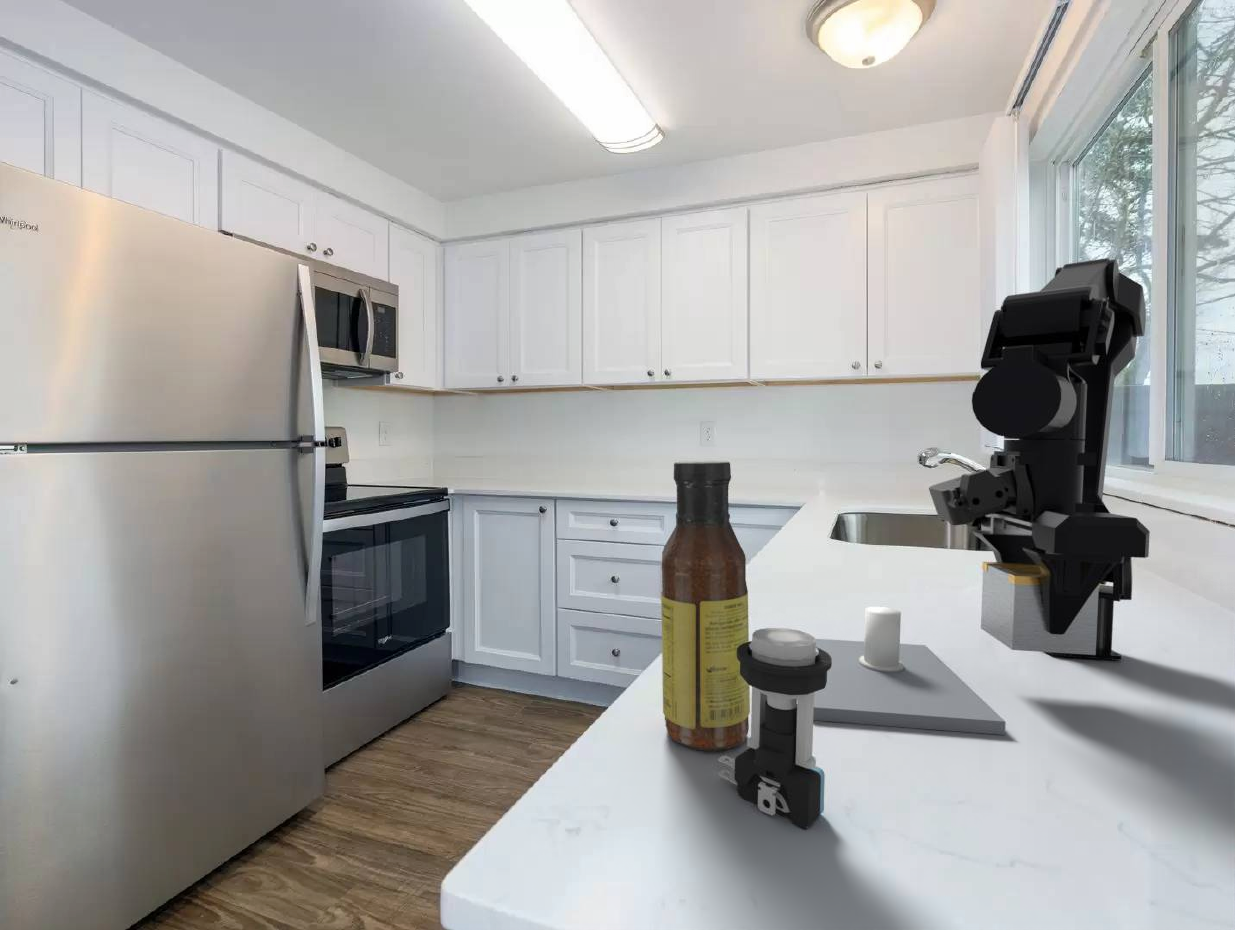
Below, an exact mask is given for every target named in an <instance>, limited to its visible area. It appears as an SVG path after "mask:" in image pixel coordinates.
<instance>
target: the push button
mask: <svg viewBox="0 0 1235 930" xmlns="http://www.w3.org/2000/svg"><path fill="white" fill-rule="evenodd" d="M751 638H752V639H751V640H750V641H749V642H746V643H743V644H741V645H740V646H739V647H738V648H737V659H738V660H739V661H740V675H741V676H742V677H743V679H744V680H745V681H746V682H747V683H748V684H749V686H750V687H751V708H750V712H751V713H750V714H751V717H750V718H751V719H750V721H751V722H750V737H748V738H747V739H746V740H747V744H746V745H747V747H748V748H747V749H746V750H745V751H743V752H741V753H740V754H738V755H736V756H735V758H733V757H730V756H727V755H722V756H720V757H719V758H717V761H718V762H720V763H723V764H725V765H727V766H728V767H729V766H730V768H732V769H733V770H734V772H731V771H729V770H727V769H722V770H721V771H719V772H718V773H717V776H718V777H720V778H722V779H725V780H728V781H730V783H731V784H733V785H736V786H737V787H736V788H737V789H736V791H737V795H738V796H739V797H740V798H741V799H743V800H745V801H747V802H750V803H752V804H755V805H757V808H758V809H759V811H760V812H762V813H765V814H767V815H770V816H775V815H776V814H778V815H779V816H782V817H784V818H786V819H788V820H790V821H791V823H792V824H793V825H794V826H796V827H798V828H800V829H803V830H805V829H808V828H809V827H810V826H811V824H813V823H814V822H815V820H816V819H818V818H819V817H820V816H821V815H822V814H823V813H824V810H825V780H826V779H825V778H826V777H825V776H826V775H825V771H824V770H823V768H821V767H819V766H816V765H817V758H816V757H815V756H813V742H814V737H813V736H814V720H813V711H814V692H816V691H819V690H821V689H824V688H825V686H826V683H827V671H828V670H829V669H830V668H831V666H832V658H831V656H830V655H829V654H828V653H827V652H825V651H824V650H822V649H820V648H817V647H816V639H817V638H816V637H815V636H814V635H811V634H810V633H807V632H805V631H801V630H799V629H792V628H787V627H766V628H760V629H757V630H756V629H755V631H753V632H752V636H751ZM727 760H728V761H727Z"/></svg>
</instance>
